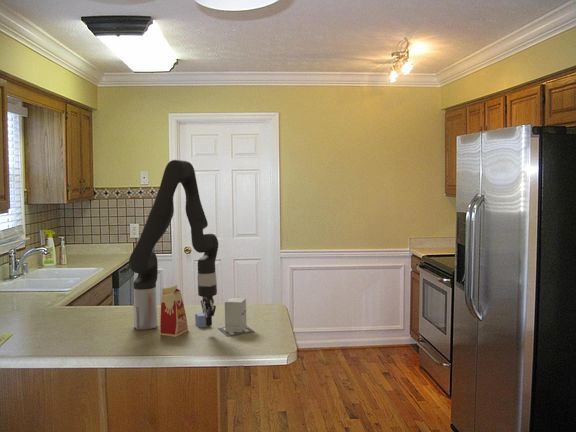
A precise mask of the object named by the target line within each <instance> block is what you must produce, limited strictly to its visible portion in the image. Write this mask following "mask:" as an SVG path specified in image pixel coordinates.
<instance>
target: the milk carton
mask: <svg viewBox="0 0 576 432" xmlns="http://www.w3.org/2000/svg"><path fill="white" fill-rule="evenodd" d="M161 290H162V292H161V298H160V299H161V301H160V318H159V319H160V320H159V321H160V322H159V330H160V331H159V336H165V337H166V336H167V337H168V336H169V337H174V338H177V337H178V336H180V335H182V334H184V333H186V332H188V331H189V325H188V319H187V314H186V309H185V304H184V301H183V296H182V293H181V290H180V289H179V288H178V285H174V286H169V287H164V288H161Z"/></svg>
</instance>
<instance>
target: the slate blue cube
mask: <svg viewBox="0 0 576 432" xmlns="http://www.w3.org/2000/svg"><path fill="white" fill-rule="evenodd" d="M194 315H195V320H194V321H195V325H196V326H197V328H206V327H208V326H207V325H206V319H205V317H206V316H205V315H204V314H203V312H197V313H195V314H194Z"/></svg>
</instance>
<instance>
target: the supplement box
mask: <svg viewBox="0 0 576 432" xmlns="http://www.w3.org/2000/svg"><path fill="white" fill-rule="evenodd" d="M246 326H247V298H246V297H245V298H241V297H240V298H239V297H233V298H232V297H231V298H228V299H227V300H226V301H224V327H225V332H242V331H243V330H244V329H245V328H246Z"/></svg>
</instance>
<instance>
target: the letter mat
mask: <svg viewBox="0 0 576 432" xmlns="http://www.w3.org/2000/svg"><path fill="white" fill-rule="evenodd" d="M217 329H218V330H219V331H220V332H221V333H223V334H224V335H225V336H226V337H233V336H240V335H243V334H250V333H255V332H256V331H255V330H254V329H252V328H251V327H249V326H248V325H246V328H245V329H244V330H243V331H242V332H225V326H224V327H217Z"/></svg>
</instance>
